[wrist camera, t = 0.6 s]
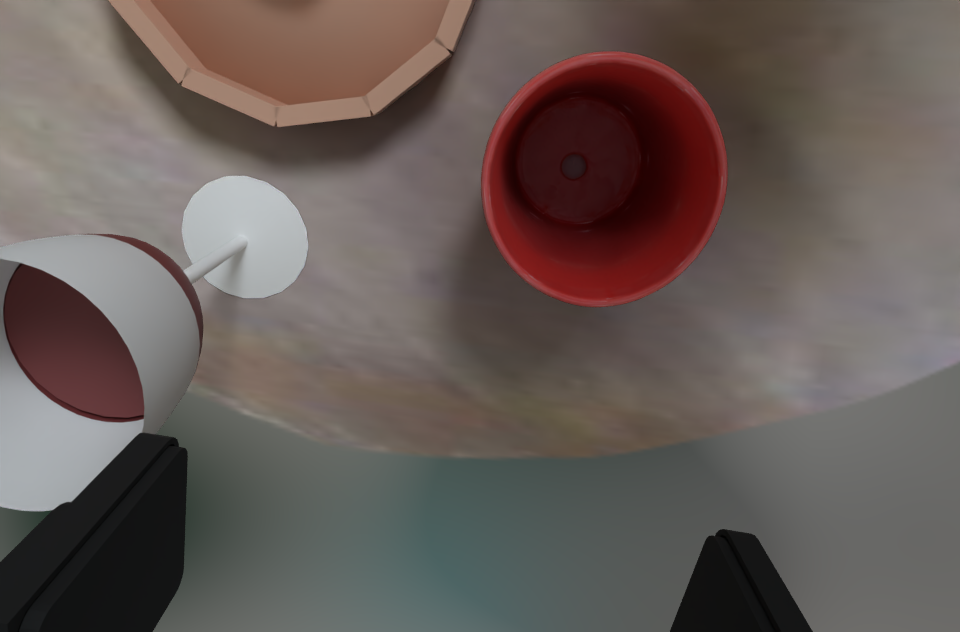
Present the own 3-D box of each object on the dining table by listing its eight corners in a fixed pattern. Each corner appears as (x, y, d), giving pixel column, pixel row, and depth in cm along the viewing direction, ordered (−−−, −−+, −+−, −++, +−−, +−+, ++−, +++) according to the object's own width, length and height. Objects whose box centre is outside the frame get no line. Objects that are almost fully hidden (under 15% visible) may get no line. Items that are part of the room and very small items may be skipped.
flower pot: (473, 246, 38) (469, 298, 29) (491, 49, 34) (494, 38, 25) (648, 262, 38) (699, 319, 29) (685, 69, 34) (757, 65, 25)
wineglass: (160, 274, 39) (-144, 455, 20) (202, 141, 36) (-105, 208, 17) (283, 327, 40) (104, 545, 21) (333, 202, 37) (178, 327, 18)
